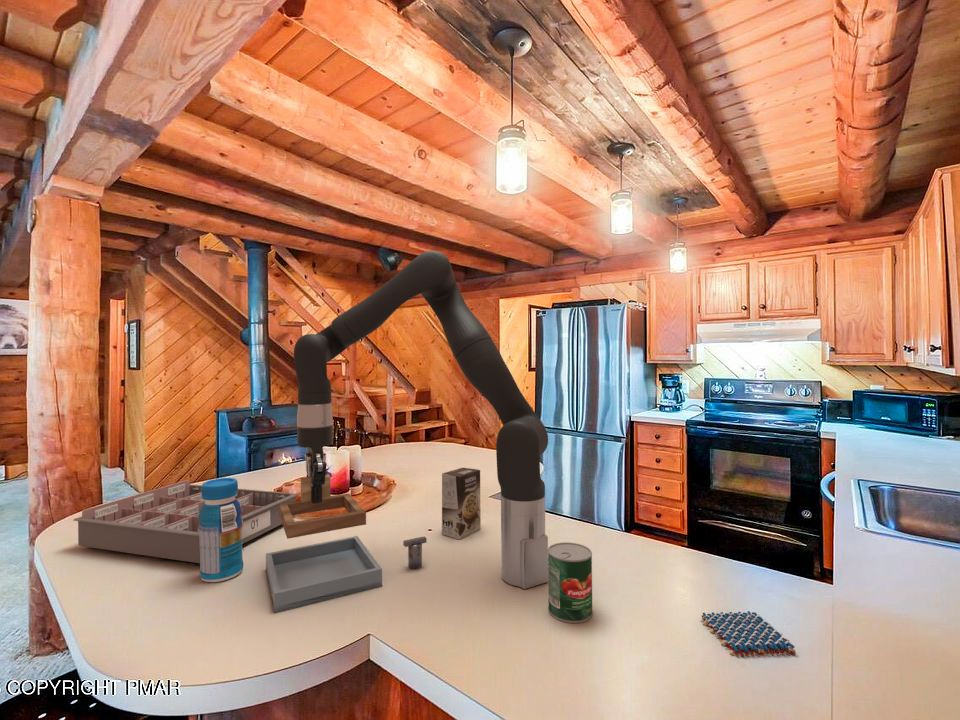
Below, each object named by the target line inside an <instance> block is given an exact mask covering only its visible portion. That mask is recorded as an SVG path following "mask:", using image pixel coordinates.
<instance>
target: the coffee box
mask: <svg viewBox="0 0 960 720" xmlns="http://www.w3.org/2000/svg"><path fill="white" fill-rule="evenodd" d="M481 511H482V510H481V470H480V469H477V468H472V467H471V468H470V467H468V468H467V467H459V468H456V469H453V470H449V471H447V472H443V473H441V534H442V535H443V536H446V537H450V538H452V539H456V540H462V539H464V538H466V537H468V536H470V535H472V534H474V533H476V532H478V531H480V530H481V529H482V527H481V526H482V525H481V521H482V520H481V519H482V518H481Z"/></svg>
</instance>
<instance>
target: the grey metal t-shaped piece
mask: <svg viewBox="0 0 960 720" xmlns="http://www.w3.org/2000/svg"><path fill="white" fill-rule="evenodd" d="M427 540H428V539H427V537H426V536H420V537H415V538H410V539H406V540H402V545H403V547H404V548H407V550H408V551H407V553H408V554H407V557H408V560H407V561H408V562H407V563H408V569H410V570H419V569H422V567H423V544H426V543H428V541H427Z"/></svg>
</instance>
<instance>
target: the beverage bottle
mask: <svg viewBox="0 0 960 720" xmlns="http://www.w3.org/2000/svg"><path fill="white" fill-rule="evenodd" d="M201 485H202V498H203V500H204V501H205V503H204V504H203V506H202V508H201V510H200V512H199V515H198V519H199V520H200V524H199V526H198V534H199V538H200V563H199V565H200V566H199V567H200V568H199V577H200V580H201V581H203V582H206V583H219V582H223V581H228V580H231V579H232V578H235V577H236V576H238V575H239V574H241V572H242V571H243V569H244V561H243V559H244V558H243V544H242V527H243V519H242V517H241V513H242V507H241V505H240V503H239V502H238V500H237V499H236V498H235V496H237V493H238V489H239V483H238V479H237V478H234V477H222V478H221V477H220V478H214V479H211V480H207V481H205V482H203V483H202V484H201Z"/></svg>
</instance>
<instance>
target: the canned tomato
mask: <svg viewBox="0 0 960 720" xmlns="http://www.w3.org/2000/svg"><path fill="white" fill-rule="evenodd" d="M592 556H593V552H592V550H591V549H590V548H589V547H587V546H586V545H584V544H581V543H575V542H569V541H568V542H566V541H565V542H558V543H554V544H551V545H550V546H548V582H547V583H548V585H547V586H548V587H547V589H548V592H547V593H548V594H547V595H548V606H547V607H548V612H549V614H550V615H551V616H552V617H553V619H556V620H558V621H560V622H564V623H568V624H579V623H580V624H581V623H585V622H587V621H589V620H590V619H591V618H592V617H593V614H594V611H593V579H592V578H593V557H592Z"/></svg>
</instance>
